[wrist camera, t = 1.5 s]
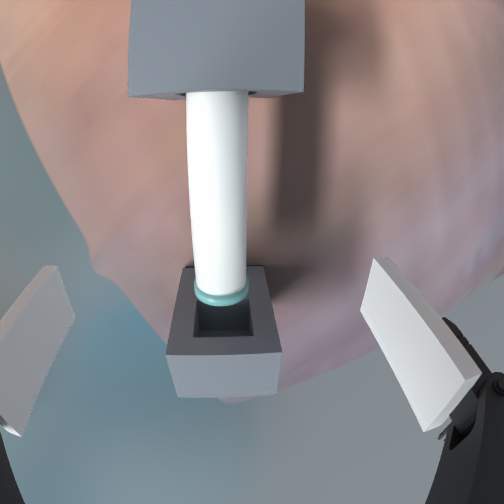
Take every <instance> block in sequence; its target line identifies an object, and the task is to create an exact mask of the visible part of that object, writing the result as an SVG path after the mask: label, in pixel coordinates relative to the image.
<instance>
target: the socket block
mask: <svg viewBox="0 0 504 504" xmlns="http://www.w3.org/2000/svg"><path fill="white" fill-rule="evenodd" d="M246 276H247V277H248V280H249V291H248V294H247V296H246V297H245V298H244V299H243V300H242V301H240V302H238V303H236V304H233V305H229V306H213V305H208V304H206V303H203V302H202V301H200V300H199V299H198V298H197V297H196V295H195V289H194V280H195V278H196V275H195V268H183V270H182V275H181V279H180V284H179V289H178V293H177V298H176V303H175V308H174V313H173V318H172V323H171V328H170V334H169V339H168V344H167V351H166V358H167V362H168V365H169V369H170V372H171V376H172V379H173V383H174V386H175V389H176V392H177V395H178V397H246V396H263V395H276V394H277V387H278V380H279V373H280V365H281V358H282V349H281V344H280V340H279V335H278V330H277V326H276V321H275V317H274V312H273V307H272V303H271V298H270V294H269V289H268V285H267V280H266V276H265V271H264V267H263V266H246Z"/></svg>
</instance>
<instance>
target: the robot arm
mask: <svg viewBox="0 0 504 504" xmlns="http://www.w3.org/2000/svg"><path fill="white" fill-rule="evenodd" d="M360 311H361V313H362V315H363V317H364V318H365V320H366V322H367V324H368V325H369V327H370V329H371V331H372V333H373V334H374V336H375V338H376V340H377V342H378V343H379V345H380V347H381V349H382V351H383V352H384V354H385V356H386V358H387V360H388V362H389V364H390V366H391V368H392V369H393V371H394V373H395V375H396V377H397V379H398V381H399V383H400V385H401V387H402V389H403V391H404V393H405V395H406V397H407V399H408V401H409V403H410V405H411V407H412V409H413V411H414V413H415V415H416V417H417V419H418V421H419V424H420V426H421V428H422V430H423V432H425V431H428V430H430V429H433V428H435V427H438V426H440V425H441V424H442V423H443V422H444V421H445V420H446V419H447V417H448V416H450V418H451V419H452V422H451V423H450V424H449V425H448V426H447V428H445V430H444V431H443V432H442V433H441V434H440V435H439V437H438V439H439V440H440V439H441V438H442V437H443V436H444V435H445V434H446V433H447V435H446V438H445V439H444V441H445V443H444V447H443V451H442V455H441V458H440V462H439V465H438V468H437V472H436V475H435V478H434V481H433V484H432V487H431V489H430V492H429V495H428V498H427V500H426V503H425V504H504V374H503V373H500V372H495V373H491V371H490V370H489V369H488V367H487V366H486V365H485V363H484V362H483V360H482V359H481V358H480V357H479V355H478V354H477V352H476V351H475V350H474V348H473V347H472V346H471V344H470V345H469V342H468V341H467V339H466V338H465V337H463V334H462V333H461V331H460V330H459V329H458V328H457V326H456V325H455V324H453V323H452V322H451V321H449V320H448V319H447V318H445V317H444V318H441V317H440V316H439V314H438V313H437V312H436V311H435V309H434V308H433V307H432V306H431V305H430V303H429V302H428V301H427V300H426V299H425V297H424V296H423V295H422V294H421V293H420V292H419V290H418V289H417V288H416V287H415V286H414V285H413V283H412V282H411V281H410V280H409V279H408V278H407V277H406V275H405V274H404V273H403V272H402V271H401V270H400V269H399V268H398V267H397V265H396V264H395V263H394V262H393V261H392V260H391V259H390V258H389V257H378V258H373V262H372V267H371V271H370V275H369V279H368V283H367V287H366V291H365V295H364V298H363V302H362V306H361V309H360ZM74 319H75V315H74V313H73V310H72V307H71V305H70V302H69V299H68V297H67V294H66V291H65V288H64V285H63V283H62V279H61V277H60V273H59V270H58V267H57V266H44V267H43V268H42V269H41V270H40V271H39V272H38V274H37V275H36V276H35V277H34V278H33V279H32V281H31V282H30V283H29V284H28V286H27V287H26V288H25V289H24V291H23V292H22V293H21V294H20V296H19V297H18V298H17V300H16V301H15V302H14V303H13V305H12V306H11V307H10V309H9V310H8V311H7V313H6V314H5V315H4V317H3V318H2V319H1V321H0V424H1V425H2V426H3V427H4V428H5V429H6V430H7V431H8V432H10V433H13V434H15V435H18V436H20V437H22V435H23V433H24V430H25V427H26V424H27V421H28V419H29V416H30V414H31V411H32V408H33V406H34V403H35V401H36V399H37V396H38V394H39V391H40V389H41V387H42V384H43V382H44V380H45V378H46V375H47V373H48V371H49V369H50V367H51V364H52V362H53V360H54V358H55V356H56V354H57V352H58V350H59V348H60V346H61V344H62V342H63V340H64V338H65V336H66V334H67V332H68V330H69V328H70V326H71V325H72V323H73V321H74ZM0 504H25V503H24V501H23V498H22V496H21V494H20V491H19V488H18V486H17V483H16V481H15V478H14V475H13V472H12V469H11V467H10V463H9V460H8V457H7V454H6V450H5V447H4V443H3V440H2V436H1V433H0Z"/></svg>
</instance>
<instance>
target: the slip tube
mask: <svg viewBox="0 0 504 504" xmlns="http://www.w3.org/2000/svg"><path fill="white" fill-rule="evenodd" d="M186 120H187V156H188V179H189V198H190V214H191V228H192V241H193V253H194V264H195V275H196V278H195V280H194V289H195V295H196V297H197V298H198V299H199V300H200V301H202V302H203V303H206V304H208V305H213V306H229V305H233V304H236V303H238V302H240V301H242V300H243V299H244V298H245V297H246V296H247V294H248V291H249V280H248V277H247V276H246V242H247V155H248V91H214V92H192V93H186Z"/></svg>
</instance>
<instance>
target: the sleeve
mask: <svg viewBox="0 0 504 504" xmlns="http://www.w3.org/2000/svg"><path fill="white" fill-rule="evenodd" d="M304 57H305V0H132V4H131V15H130V29H129V49H128V97H138V98H154V99H166V100H179V99H186V93H192V92H214V91H248V97H253V98H271V97H277V96H282V95H288V94H294V93H301V92H304Z"/></svg>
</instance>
